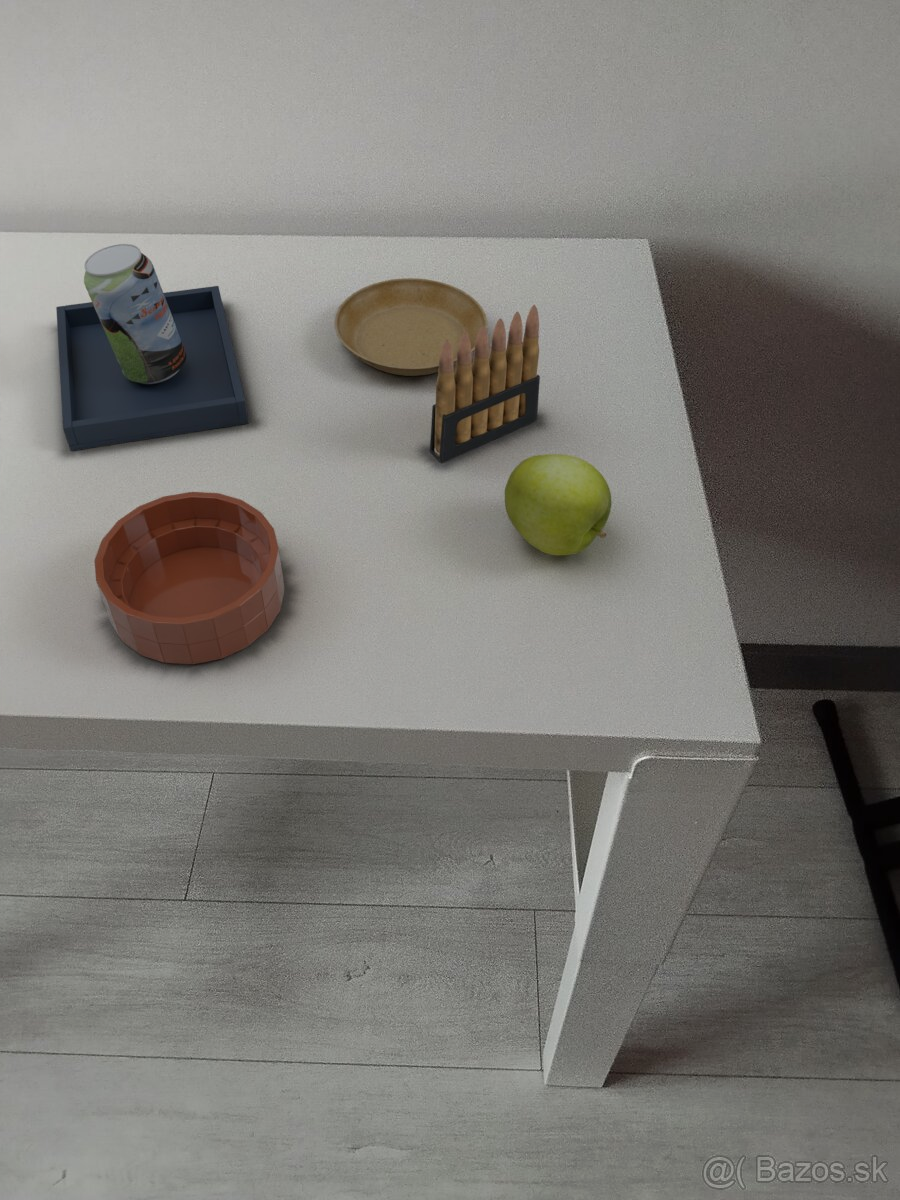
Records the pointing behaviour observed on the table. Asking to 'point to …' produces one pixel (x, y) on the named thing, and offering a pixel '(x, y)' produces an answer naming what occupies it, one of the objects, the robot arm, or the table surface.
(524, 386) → the ammunition clip
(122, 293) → the beverage can
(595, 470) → the apple
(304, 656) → the table surface
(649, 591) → the table surface
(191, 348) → the tray
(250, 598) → the bowl
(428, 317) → the plant saucer
